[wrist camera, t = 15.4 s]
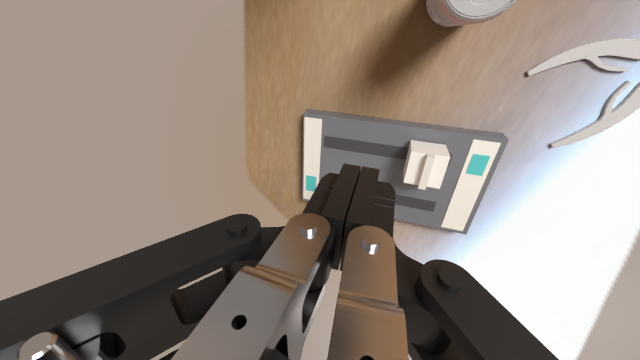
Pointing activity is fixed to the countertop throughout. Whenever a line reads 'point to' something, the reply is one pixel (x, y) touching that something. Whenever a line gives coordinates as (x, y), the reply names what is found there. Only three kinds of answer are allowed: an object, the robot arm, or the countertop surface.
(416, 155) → the tab
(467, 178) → the switch panel
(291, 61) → the countertop surface
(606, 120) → the pliers
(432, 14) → the energy drink
